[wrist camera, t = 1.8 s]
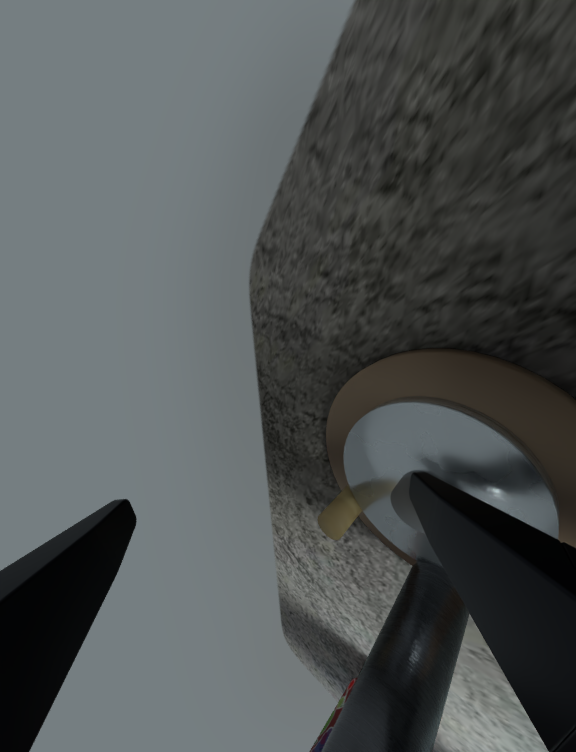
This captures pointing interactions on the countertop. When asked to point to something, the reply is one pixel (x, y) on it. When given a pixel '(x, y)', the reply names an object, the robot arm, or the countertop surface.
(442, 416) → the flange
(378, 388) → the base plate
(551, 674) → the robot arm
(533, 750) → the countertop surface
